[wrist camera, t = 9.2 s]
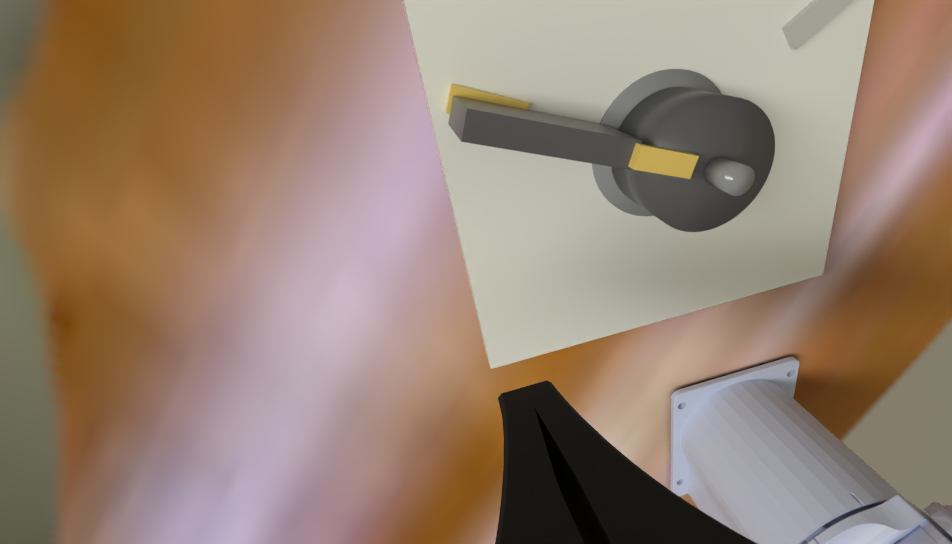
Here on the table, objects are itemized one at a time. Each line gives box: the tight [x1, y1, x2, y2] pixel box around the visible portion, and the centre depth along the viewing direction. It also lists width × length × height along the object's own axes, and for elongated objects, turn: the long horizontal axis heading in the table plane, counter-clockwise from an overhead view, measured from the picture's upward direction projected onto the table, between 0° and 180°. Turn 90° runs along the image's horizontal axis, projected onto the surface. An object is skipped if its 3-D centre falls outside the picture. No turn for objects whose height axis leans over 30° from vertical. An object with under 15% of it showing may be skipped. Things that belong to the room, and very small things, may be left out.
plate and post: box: [402, 0, 874, 369], centre depth 18 cm, size 18×18×6 cm
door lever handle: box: [448, 87, 775, 232], centre depth 17 cm, size 7×10×3 cm
